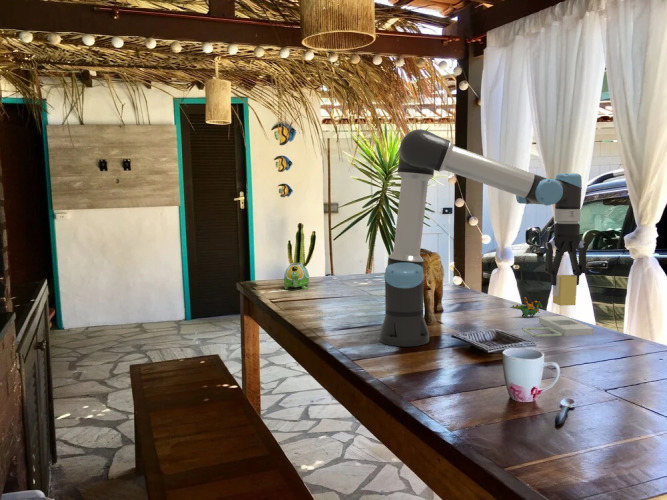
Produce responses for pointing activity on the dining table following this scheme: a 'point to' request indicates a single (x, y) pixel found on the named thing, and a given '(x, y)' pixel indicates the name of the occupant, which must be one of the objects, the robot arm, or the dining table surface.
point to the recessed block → (566, 325)
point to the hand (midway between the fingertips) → (564, 295)
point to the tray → (542, 334)
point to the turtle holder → (296, 276)
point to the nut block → (566, 291)
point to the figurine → (528, 308)
